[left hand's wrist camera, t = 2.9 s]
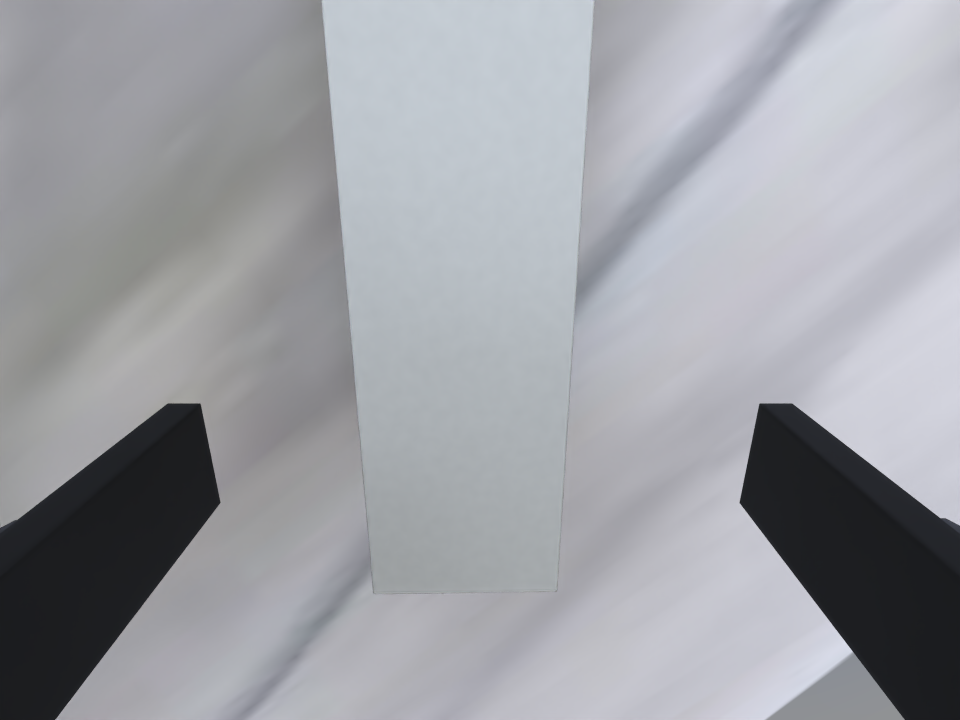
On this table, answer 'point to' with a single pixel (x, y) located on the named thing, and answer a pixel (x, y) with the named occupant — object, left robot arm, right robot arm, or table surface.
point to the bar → (461, 277)
